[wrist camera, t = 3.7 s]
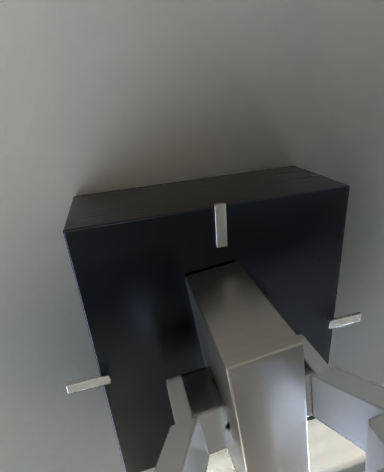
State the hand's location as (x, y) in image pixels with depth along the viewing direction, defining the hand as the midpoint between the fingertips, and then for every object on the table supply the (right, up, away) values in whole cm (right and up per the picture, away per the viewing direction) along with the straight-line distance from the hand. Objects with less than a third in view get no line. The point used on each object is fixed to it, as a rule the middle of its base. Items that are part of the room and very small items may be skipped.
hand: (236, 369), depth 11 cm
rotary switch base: (-1, +2, +4) cm, 5 cm away
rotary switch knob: (0, 0, +1) cm, 1 cm away
